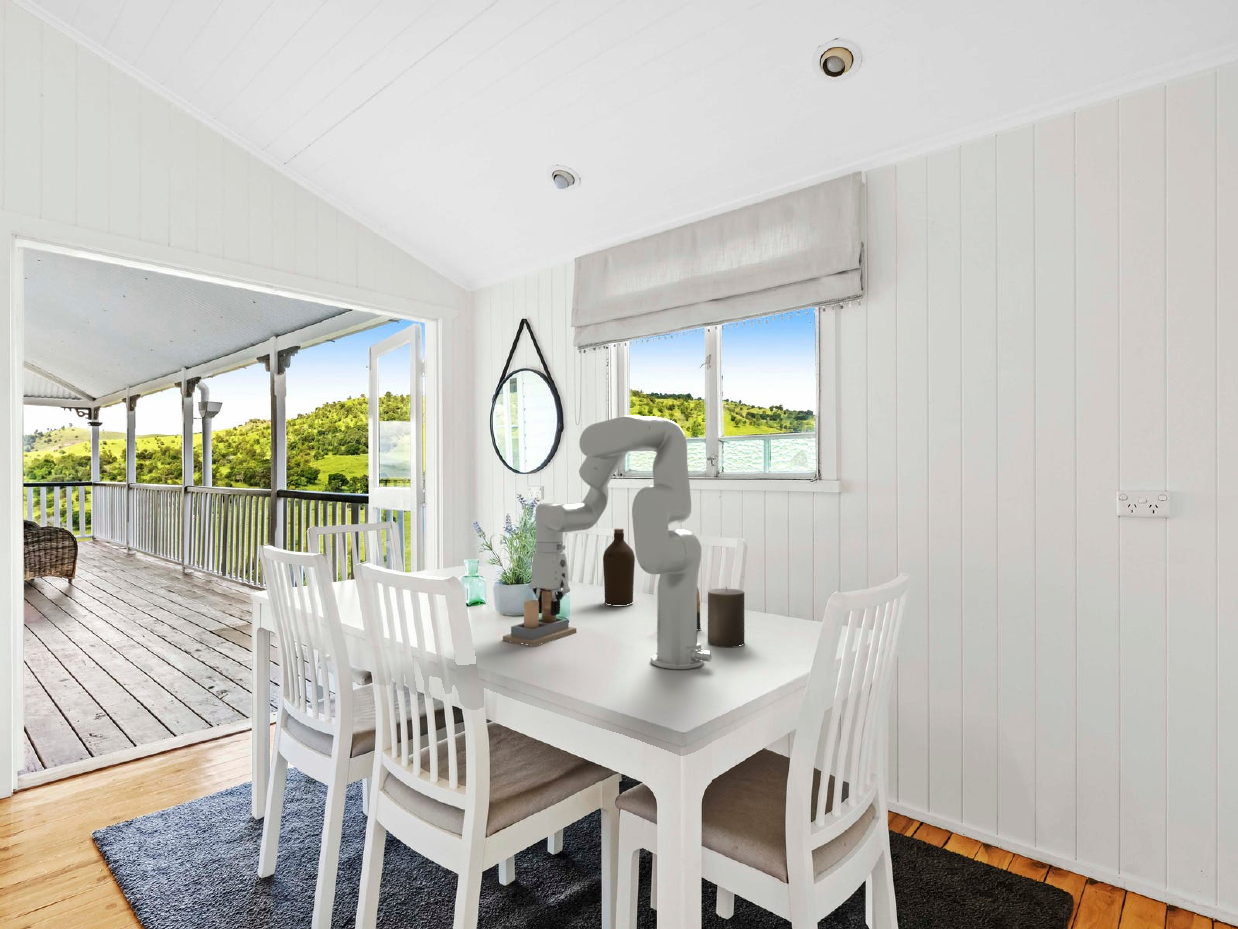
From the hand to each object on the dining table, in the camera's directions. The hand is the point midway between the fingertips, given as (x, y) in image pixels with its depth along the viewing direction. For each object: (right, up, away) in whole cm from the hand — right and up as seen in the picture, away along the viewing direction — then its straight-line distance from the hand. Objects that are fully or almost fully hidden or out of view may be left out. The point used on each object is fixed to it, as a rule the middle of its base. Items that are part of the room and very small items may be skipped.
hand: (548, 613), depth 198 cm
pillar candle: (+48, -6, -10) cm, 49 cm away
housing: (-2, -6, -3) cm, 7 cm away
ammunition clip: (+37, -6, +6) cm, 38 cm away
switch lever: (0, -3, 0) cm, 3 cm away
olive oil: (+20, -5, +40) cm, 45 cm away
